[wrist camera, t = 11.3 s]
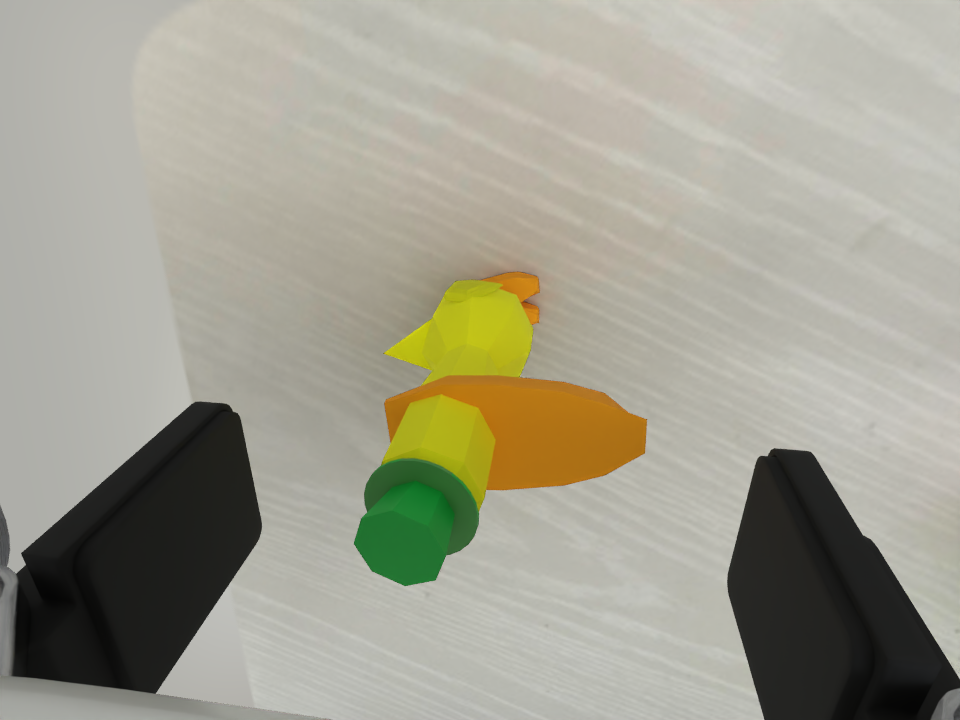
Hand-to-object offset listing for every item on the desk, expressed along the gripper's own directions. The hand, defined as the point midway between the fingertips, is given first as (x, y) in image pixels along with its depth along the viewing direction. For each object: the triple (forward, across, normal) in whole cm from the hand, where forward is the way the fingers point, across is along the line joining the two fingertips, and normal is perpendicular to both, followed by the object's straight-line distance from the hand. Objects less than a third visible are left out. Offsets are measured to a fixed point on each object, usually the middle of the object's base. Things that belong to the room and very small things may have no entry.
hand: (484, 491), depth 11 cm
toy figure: (+11, 0, 0) cm, 11 cm away
